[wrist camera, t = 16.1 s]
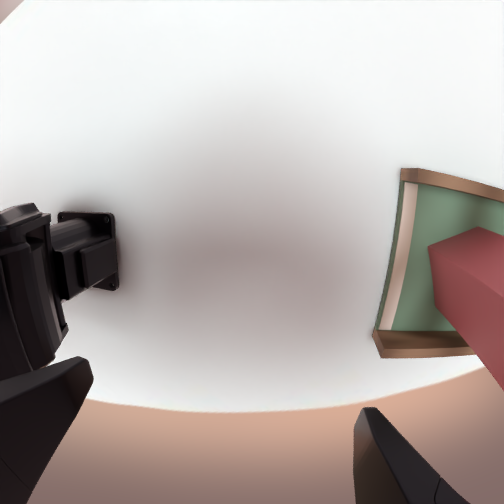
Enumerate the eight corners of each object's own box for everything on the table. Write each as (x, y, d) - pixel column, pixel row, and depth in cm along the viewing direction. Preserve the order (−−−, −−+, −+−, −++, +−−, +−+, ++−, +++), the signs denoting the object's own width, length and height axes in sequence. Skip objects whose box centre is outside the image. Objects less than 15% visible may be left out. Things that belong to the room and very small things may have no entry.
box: (372, 336, 20) (381, 358, 17) (401, 168, 17) (418, 168, 14) (483, 335, 19) (498, 352, 16) (516, 197, 15) (538, 202, 12)
